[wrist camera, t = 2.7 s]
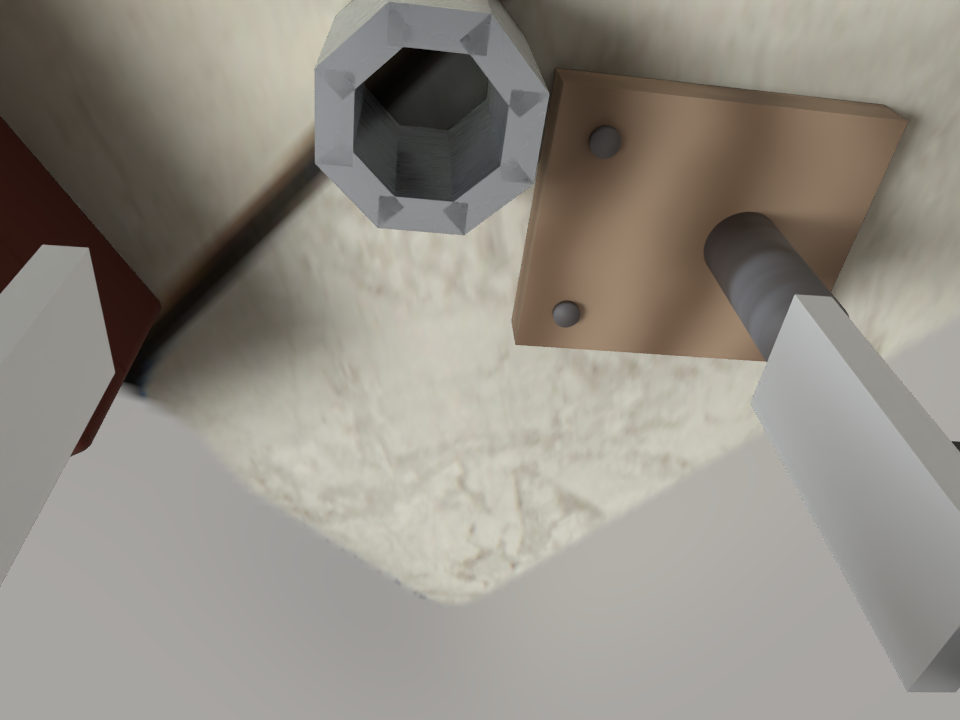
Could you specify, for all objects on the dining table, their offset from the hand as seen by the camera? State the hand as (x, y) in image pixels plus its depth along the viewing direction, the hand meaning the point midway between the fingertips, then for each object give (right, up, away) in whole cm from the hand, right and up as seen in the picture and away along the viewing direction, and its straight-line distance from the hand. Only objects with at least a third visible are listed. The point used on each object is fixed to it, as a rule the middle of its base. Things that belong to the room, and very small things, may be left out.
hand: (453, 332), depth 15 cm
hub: (-1, +11, +15) cm, 19 cm away
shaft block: (+10, +6, +20) cm, 23 cm away
